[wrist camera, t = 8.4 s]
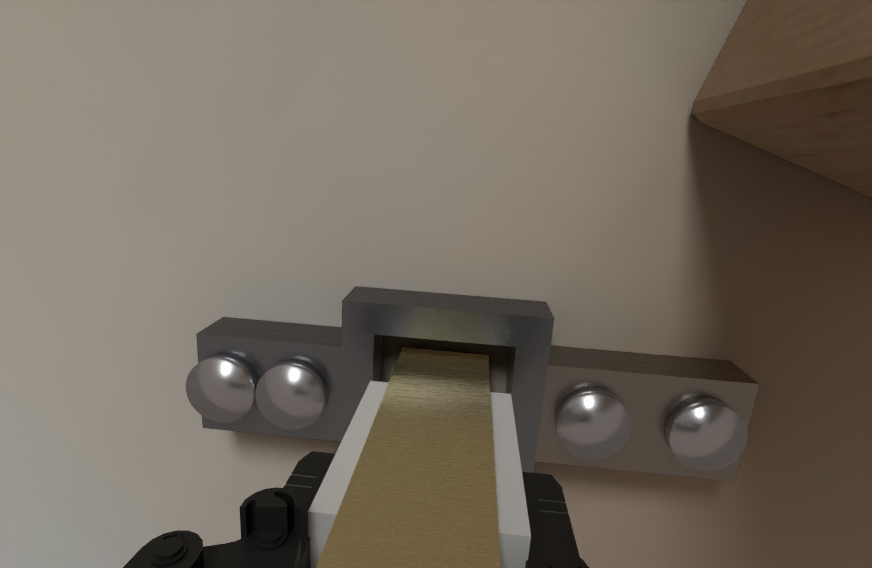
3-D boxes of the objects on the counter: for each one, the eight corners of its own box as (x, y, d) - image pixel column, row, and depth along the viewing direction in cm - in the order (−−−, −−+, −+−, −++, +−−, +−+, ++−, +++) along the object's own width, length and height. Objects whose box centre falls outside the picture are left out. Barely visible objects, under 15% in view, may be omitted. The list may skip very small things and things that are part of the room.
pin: (402, 347, 19) (291, 630, 8) (488, 355, 19) (505, 657, 8) (398, 424, 20) (294, 780, 9) (480, 432, 20) (487, 809, 8)
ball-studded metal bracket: (215, 275, 20) (178, 292, 18) (741, 317, 19) (781, 342, 16) (225, 439, 22) (192, 475, 19) (701, 488, 21) (732, 533, 18)
